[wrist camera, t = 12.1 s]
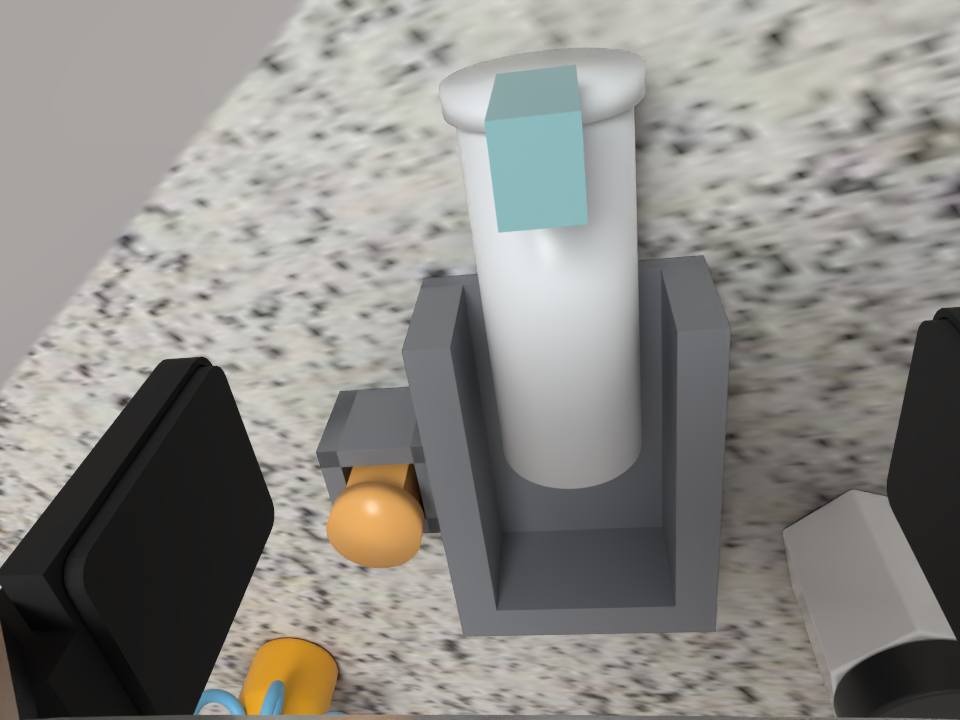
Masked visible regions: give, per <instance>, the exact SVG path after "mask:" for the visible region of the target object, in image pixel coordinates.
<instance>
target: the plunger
mask: <svg viewBox="0 0 960 720" xmlns="http://www.w3.org/2000/svg"><path fill="white" fill-rule="evenodd" d="M420 498H421V492H420V488H419V483H418V479H417V474H416V470H415V466H414V463H412V464H392V465H372V466H353V468H352V471H351V474H350V477H349V480H348V483H347V486H346V488H345V489H344V490H343V491H341V492H340V493H339V494H338V496H337V497H336V499H335V501H334V504H333V507H332V510H331V513H330V516H329V519H328V522H327V527H326V530H327V536H328V538H329V541H330V543H331V544H332V546H333V547H334V548H335V549H336V550H337V551H338V552H339V553H340V554H341V555H342V556H344V557H345V558H347V559H348V560H350V561H352V562H354V563H357V564H360V565H363V566H367V567H373V568H389V567H395V566H398V565H401V564H403V563H405V562H407V561H409V560H410V559H411V558H413V556H414V555H415V554H416V553H417V551H418V550H419V547H420V544H421V539H422V534H423V528H424V522H425V518H424V513H423V510H422V508H421V506H420V504H419V503H420Z"/></svg>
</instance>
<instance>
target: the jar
mask: <svg viewBox="0 0 960 720" xmlns="http://www.w3.org/2000/svg"><path fill="white" fill-rule="evenodd" d="M783 538H784V544H785V550H786V555H787V561H788V567H789V573H790V579H791V584H792V587H793V590H794V593H795V596H796V599H797V602H798V605H799V608H800V611H801V614H802V617H803V620H804V623H805V627H806V630H807V633H808V636H809V639H810V642H811V645H812V648H813V651H814V654H815V657H816V660H817V663H818V666H819V669H820V672H821V675H822V678H823V681H824V684H825V687H826V690H827V693H828V696H829V699H830V702H831V705H832V709H833V712H834V715H835V717H840V718H921V719H960V645H959V643H958V641H957V639H956V637H955V635H954V633H953V631H952V629H951V627H950V625H949V623H948V621H947V619H946V617H945V615H944V613H943V611H942V609H941V607H940V605H939V603H938V601H937V599H936V597H935V595H934V593H933V591H932V589H931V587H930V585H929V583H928V581H927V579H926V577H925V575H924V573H923V571H922V569H921V567H920V565H919V563H918V561H917V559H916V557H915V555H914V553H913V551H912V549H911V547H910V545H909V543H908V541H907V539H906V537H905V535H904V533H903V531H902V529H901V527H900V525H899V523H898V521H897V519H896V517H895V515H894V513H893V511H892V509H891V507H890V504H889V500H888V497H887V496H882V495H877V494H873V493H868V492H863V491H859V490H853V489H852V490H849V491H848V492H846V493H844V494H843V495H841V496H839V497H838V498H836V499H834V500H833V501H831V502H829V503H828V504H826V505H824V506H823V507H821V508H819V509H818V510H816V511H814V512H813V513H811V514H809V515H808V516H806V517H804V518H803V519H801V520H799V521H797V522H796V523H794V524H792V525H791V526H789V527H787V528H786V529H784V531H783Z"/></svg>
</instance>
